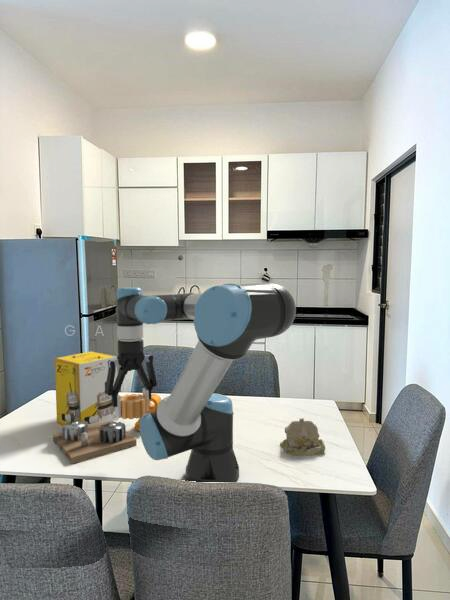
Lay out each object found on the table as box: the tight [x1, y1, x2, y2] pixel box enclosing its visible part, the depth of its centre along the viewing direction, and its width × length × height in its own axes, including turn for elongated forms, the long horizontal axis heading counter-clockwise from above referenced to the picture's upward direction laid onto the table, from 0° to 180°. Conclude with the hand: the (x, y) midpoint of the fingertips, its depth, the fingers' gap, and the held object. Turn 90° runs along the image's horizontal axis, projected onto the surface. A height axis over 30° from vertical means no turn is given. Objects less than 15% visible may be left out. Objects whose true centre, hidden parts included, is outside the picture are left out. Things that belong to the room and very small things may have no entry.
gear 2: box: [99, 421, 127, 444], centre depth 134 cm, size 8×8×5 cm
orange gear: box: [119, 393, 147, 420], centre depth 121 cm, size 8×8×5 cm
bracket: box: [134, 393, 163, 431], centre depth 146 cm, size 11×7×12 cm, turn 82°
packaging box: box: [54, 350, 119, 426], centre depth 154 cm, size 16×16×25 cm
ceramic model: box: [279, 417, 326, 457], centre depth 130 cm, size 14×11×10 cm
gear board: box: [52, 421, 137, 465], centre depth 135 cm, size 21×21×6 cm
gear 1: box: [61, 413, 89, 441], centre depth 135 cm, size 8×8×7 cm
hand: (132, 413), depth 121 cm, fingers closed on orange gear, 8 cm apart
